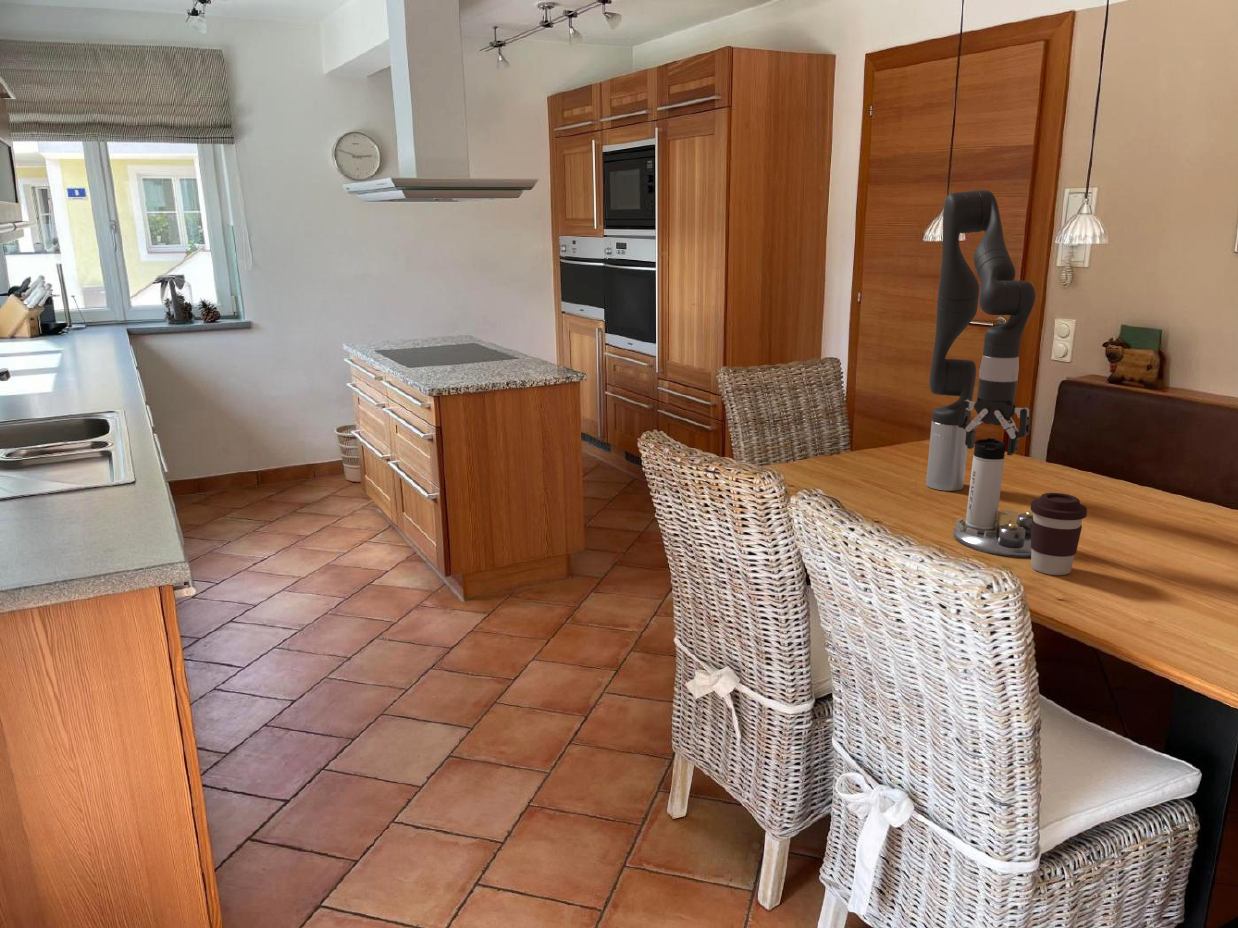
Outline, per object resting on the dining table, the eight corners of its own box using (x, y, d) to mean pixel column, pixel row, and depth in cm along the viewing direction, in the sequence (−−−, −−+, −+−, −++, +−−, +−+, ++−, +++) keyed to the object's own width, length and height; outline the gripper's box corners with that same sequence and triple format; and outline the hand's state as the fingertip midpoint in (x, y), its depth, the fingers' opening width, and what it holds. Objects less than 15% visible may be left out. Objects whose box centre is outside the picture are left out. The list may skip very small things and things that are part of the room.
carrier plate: (975, 518, 210) (978, 492, 208) (1071, 539, 196) (1075, 512, 194) (936, 541, 195) (939, 513, 193) (1038, 565, 181) (1042, 536, 179)
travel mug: (996, 526, 200) (1007, 439, 195) (994, 535, 194) (1005, 445, 189) (966, 522, 203) (976, 436, 198) (963, 531, 197) (973, 442, 192)
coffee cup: (1015, 560, 184) (1024, 489, 180) (1064, 560, 184) (1074, 490, 180) (1035, 578, 174) (1045, 504, 170) (1087, 579, 174) (1098, 505, 170)
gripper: (1039, 378, 187) (1030, 453, 192) (971, 370, 197) (964, 442, 201) (1026, 383, 182) (1017, 460, 187) (957, 375, 191) (950, 449, 196)
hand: (990, 451), depth 194 cm, fingers open, 8 cm apart
